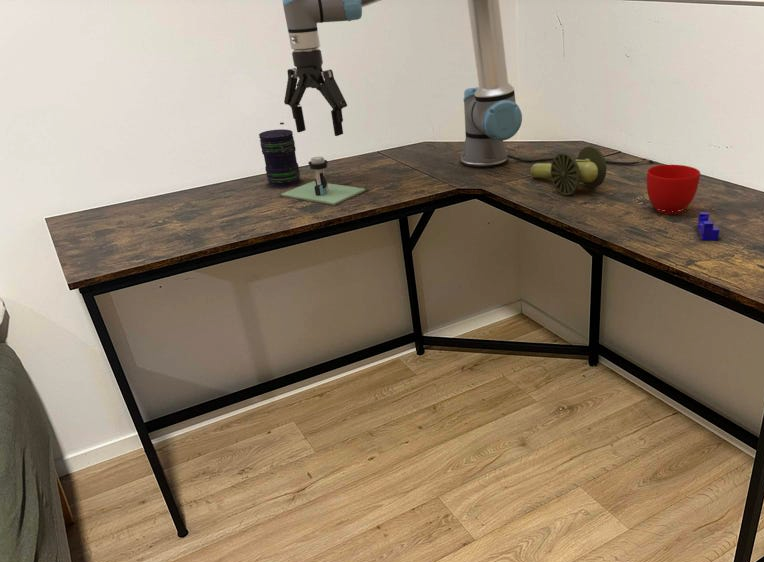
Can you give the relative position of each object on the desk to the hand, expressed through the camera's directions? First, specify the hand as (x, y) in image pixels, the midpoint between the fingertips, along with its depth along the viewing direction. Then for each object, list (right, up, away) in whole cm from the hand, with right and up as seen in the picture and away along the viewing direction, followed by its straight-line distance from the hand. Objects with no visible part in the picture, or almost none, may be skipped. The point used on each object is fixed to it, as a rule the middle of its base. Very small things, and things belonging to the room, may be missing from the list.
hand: (320, 133), depth 187 cm
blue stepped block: (+98, -33, -28) cm, 107 cm away
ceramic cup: (+94, -23, -11) cm, 98 cm away
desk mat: (-1, -14, +9) cm, 17 cm away
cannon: (+69, -13, +8) cm, 70 cm away
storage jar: (-15, -9, +19) cm, 26 cm away
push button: (-1, -15, +8) cm, 17 cm away
